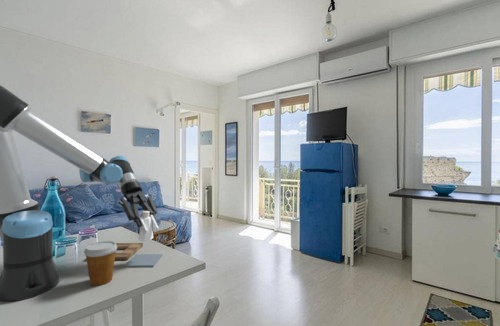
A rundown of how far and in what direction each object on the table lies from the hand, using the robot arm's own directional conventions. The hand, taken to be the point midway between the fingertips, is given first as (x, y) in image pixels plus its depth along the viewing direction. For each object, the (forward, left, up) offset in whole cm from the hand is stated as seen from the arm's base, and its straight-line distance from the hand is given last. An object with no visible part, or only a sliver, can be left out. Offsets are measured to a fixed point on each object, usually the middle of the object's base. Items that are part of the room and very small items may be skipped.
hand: (151, 231), depth 98 cm
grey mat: (+2, +4, -12) cm, 13 cm away
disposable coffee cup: (-14, +12, -13) cm, 22 cm away
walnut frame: (+11, +19, -12) cm, 25 cm away
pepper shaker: (+3, +3, -4) cm, 6 cm away
